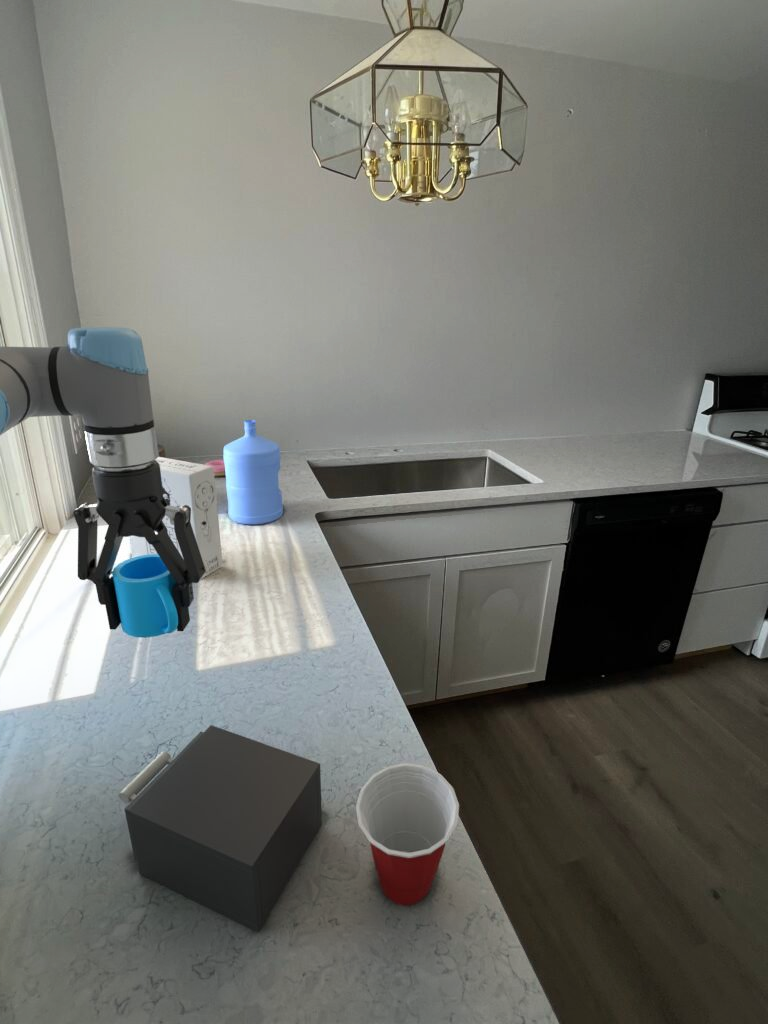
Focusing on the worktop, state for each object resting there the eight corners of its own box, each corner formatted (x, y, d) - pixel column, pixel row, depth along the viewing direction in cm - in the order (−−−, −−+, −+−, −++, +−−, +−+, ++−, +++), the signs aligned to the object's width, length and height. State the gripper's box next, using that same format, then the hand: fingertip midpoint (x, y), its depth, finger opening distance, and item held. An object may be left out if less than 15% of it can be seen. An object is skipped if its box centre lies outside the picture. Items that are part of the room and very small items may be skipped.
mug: (113, 618, 77) (103, 565, 74) (171, 599, 82) (164, 548, 79) (145, 659, 68) (136, 601, 65) (208, 634, 74) (202, 580, 71)
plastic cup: (335, 879, 63) (334, 801, 58) (402, 821, 70) (405, 747, 65) (405, 957, 55) (410, 874, 51) (471, 883, 63) (480, 804, 58)
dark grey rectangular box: (139, 874, 63) (126, 810, 59) (217, 782, 75) (210, 724, 71) (258, 932, 57) (252, 866, 54) (322, 823, 69) (320, 763, 66)
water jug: (257, 530, 153) (250, 430, 143) (217, 518, 161) (208, 422, 151) (294, 513, 166) (290, 420, 156) (255, 502, 173) (249, 413, 163)
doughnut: (214, 480, 192) (213, 468, 191) (197, 473, 199) (196, 461, 198) (241, 473, 200) (240, 462, 198) (224, 467, 207) (223, 456, 205)
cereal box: (223, 566, 133) (214, 465, 124) (201, 579, 126) (189, 475, 117) (155, 548, 141) (142, 453, 132) (131, 560, 135) (115, 461, 126)
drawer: (105, 846, 65) (94, 795, 62) (181, 767, 76) (174, 721, 73) (241, 911, 58) (235, 858, 55) (302, 815, 69) (300, 766, 66)
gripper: (18, 469, 63) (57, 638, 72) (203, 474, 63) (220, 643, 71) (55, 452, 70) (87, 608, 79) (222, 456, 70) (235, 612, 78)
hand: (150, 624), depth 75 cm, fingers closed on mug, 8 cm apart
